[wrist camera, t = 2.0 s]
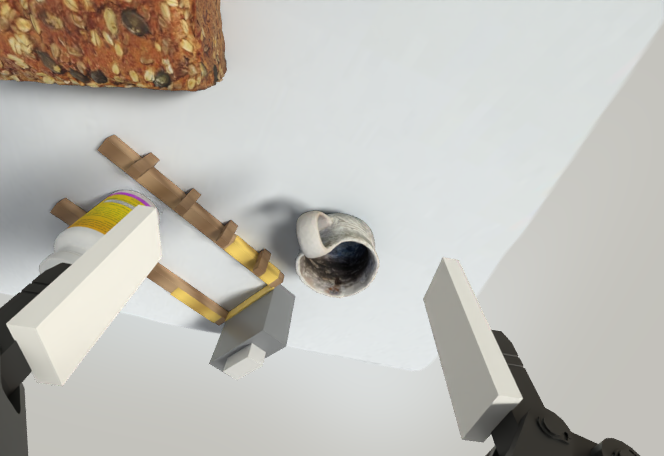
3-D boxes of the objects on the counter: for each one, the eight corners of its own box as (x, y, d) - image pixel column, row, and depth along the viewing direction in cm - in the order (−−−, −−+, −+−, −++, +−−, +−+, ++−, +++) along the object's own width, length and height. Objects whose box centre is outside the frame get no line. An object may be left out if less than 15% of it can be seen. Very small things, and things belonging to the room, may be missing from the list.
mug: (328, 272, 47) (324, 328, 39) (271, 209, 42) (252, 258, 33) (387, 242, 44) (397, 295, 35) (333, 169, 38) (330, 212, 30)
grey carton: (227, 312, 52) (202, 376, 43) (274, 279, 48) (258, 342, 39) (247, 326, 54) (227, 390, 45) (295, 296, 50) (283, 359, 41)
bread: (52, 66, 34) (-46, 82, 25) (3, -73, 28) (-146, -111, 19) (234, 81, 34) (196, 103, 25) (222, -54, 28) (169, -84, 20)
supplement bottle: (108, 181, 40) (20, 241, 30) (162, 197, 41) (97, 260, 30) (110, 224, 44) (33, 292, 33) (160, 238, 45) (102, 308, 34)
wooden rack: (58, 206, 43) (33, 223, 39) (120, 126, 37) (97, 137, 33) (221, 318, 53) (213, 338, 50) (291, 270, 47) (286, 290, 44)
